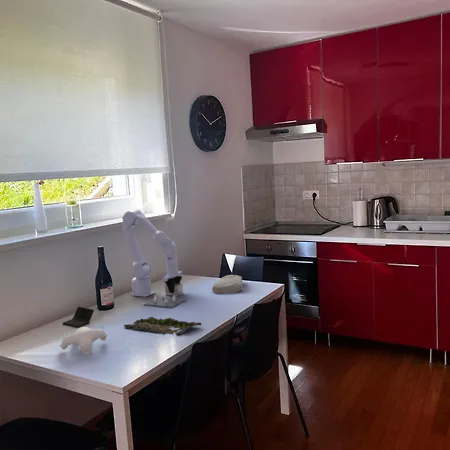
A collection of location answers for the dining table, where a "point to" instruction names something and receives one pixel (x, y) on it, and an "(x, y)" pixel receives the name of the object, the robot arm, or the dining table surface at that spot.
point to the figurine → (83, 338)
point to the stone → (228, 284)
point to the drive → (175, 289)
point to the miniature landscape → (161, 325)
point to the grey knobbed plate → (164, 302)
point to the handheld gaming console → (80, 317)
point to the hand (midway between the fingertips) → (174, 291)
